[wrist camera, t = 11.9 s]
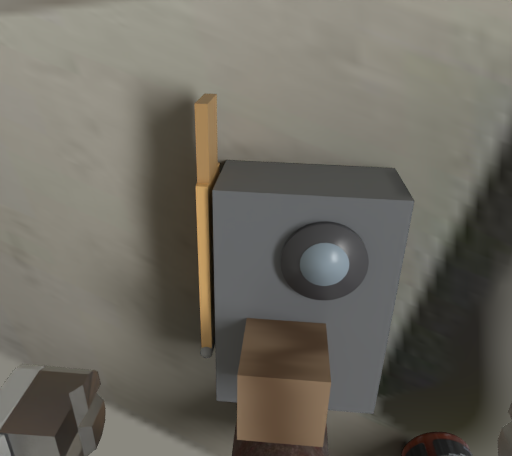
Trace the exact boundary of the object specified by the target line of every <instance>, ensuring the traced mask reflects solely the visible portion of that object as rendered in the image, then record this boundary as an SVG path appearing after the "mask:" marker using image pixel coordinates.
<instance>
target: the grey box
mask: <svg viewBox="0 0 512 456" xmlns="http://www.w3.org/2000/svg"><path fill="white" fill-rule="evenodd" d="M212 193H213V244H214V295H215V346H216V396H217V401H225V402H237V374H238V368H239V362H240V356H241V350H242V344H243V338H244V332H245V326H246V319H247V318H255V319H269V320H283V321H298V322H312V323H326V329H327V341H328V352H329V363H330V375H331V388H330V396H329V403H328V410H334V411H346V412H358V413H371V414H374V409H375V404H376V398H377V393H378V388H379V383H380V378H381V372H382V367H383V362H384V357H385V352H386V346H387V341H388V336H389V331H390V326H391V320H392V315H393V310H394V305H395V300H396V294H397V289H398V284H399V279H400V273H401V268H402V263H403V258H404V253H405V247H406V242H407V237H408V232H409V227H410V221H411V216H412V211H413V206H414V199H413V198H412V196H411V194H410V193H409V191H408V189H407V188H406V186H405V184H404V183H403V181H402V179H401V178H400V176H399V174H398V173H397V171H396V169H395V168H379V167H358V166H338V165H317V164H297V163H276V162H256V161H235V160H226V162H225V164H224V166H223V169H222V171H221V173H220V175H219V177H218V179H217V182H216V184H215V186H214V188H213V190H212Z"/></svg>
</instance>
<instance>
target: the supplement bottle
mask: <svg viewBox="0 0 512 456" xmlns="http://www.w3.org/2000/svg"><path fill="white" fill-rule="evenodd" d="M402 456H472V454H471V452H470V449H469V447H468V445H467V444H466V443H465V442H464V441H463V440H462V439H461V438H459V437H457V436H455V435H453V434H450V433H446V432H430V433H425V434H422V435H419V436H417V437H415V438H413V439H412V440H411V441H409V442H408V443H407V444H406V446H405V447H404V449H403V451H402Z"/></svg>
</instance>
